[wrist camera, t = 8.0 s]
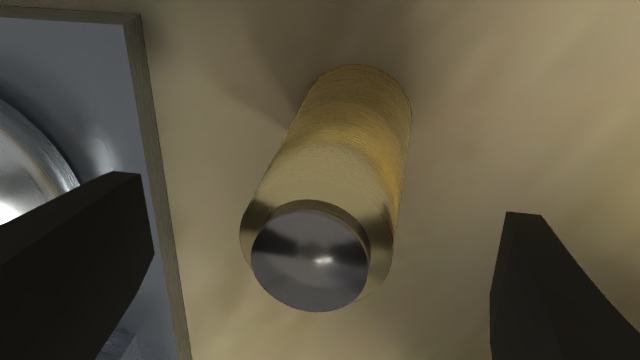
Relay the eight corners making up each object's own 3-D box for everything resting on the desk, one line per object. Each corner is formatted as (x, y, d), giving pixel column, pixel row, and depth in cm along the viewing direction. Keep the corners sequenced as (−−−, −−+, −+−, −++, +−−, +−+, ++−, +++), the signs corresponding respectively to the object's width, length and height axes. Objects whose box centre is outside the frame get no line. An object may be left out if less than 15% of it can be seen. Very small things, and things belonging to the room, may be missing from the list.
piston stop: (416, 68, 16) (395, 208, 10) (407, 169, 17) (384, 337, 12) (303, 60, 16) (224, 189, 11) (304, 158, 18) (235, 316, 12)
